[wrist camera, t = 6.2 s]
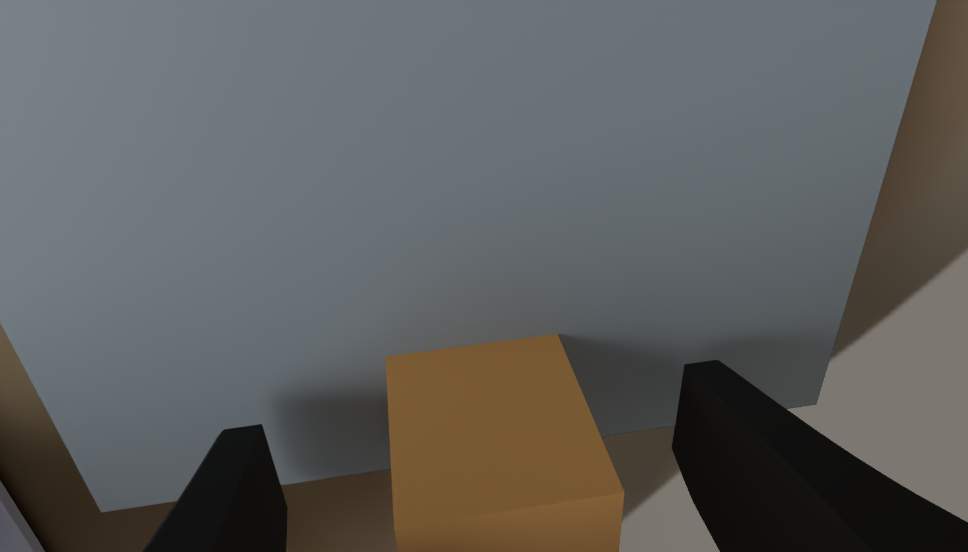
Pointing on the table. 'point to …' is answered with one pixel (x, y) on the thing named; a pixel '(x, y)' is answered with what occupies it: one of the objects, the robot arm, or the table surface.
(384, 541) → the table surface
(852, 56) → the carton lid
